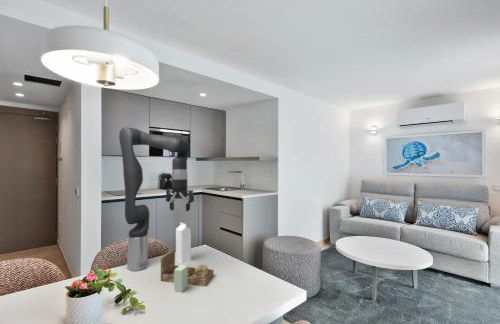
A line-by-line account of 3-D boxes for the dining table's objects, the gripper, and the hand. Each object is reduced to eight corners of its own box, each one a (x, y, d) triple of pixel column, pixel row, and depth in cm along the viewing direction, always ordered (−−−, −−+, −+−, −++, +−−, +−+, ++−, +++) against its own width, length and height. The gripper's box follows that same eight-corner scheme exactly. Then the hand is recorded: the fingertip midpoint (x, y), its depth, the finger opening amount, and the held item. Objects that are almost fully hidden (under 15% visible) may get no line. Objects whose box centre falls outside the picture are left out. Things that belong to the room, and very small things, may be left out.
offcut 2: (193, 282, 114) (193, 275, 114) (199, 276, 120) (199, 270, 120) (203, 283, 113) (203, 277, 113) (208, 277, 119) (208, 271, 119)
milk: (181, 265, 136) (181, 225, 135) (175, 262, 140) (175, 223, 140) (191, 262, 140) (190, 223, 140) (185, 259, 144) (184, 221, 144)
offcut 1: (194, 275, 114) (194, 269, 114) (198, 271, 119) (198, 264, 119) (204, 276, 114) (204, 269, 114) (207, 271, 119) (207, 265, 119)
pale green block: (174, 293, 106) (174, 269, 106) (180, 287, 111) (180, 265, 111) (181, 294, 105) (181, 270, 105) (187, 288, 110) (187, 265, 110)
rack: (160, 283, 116) (160, 257, 116) (173, 273, 126) (173, 249, 126) (204, 289, 110) (204, 261, 110) (213, 278, 121) (213, 253, 121)
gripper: (162, 178, 123) (163, 211, 123) (189, 179, 119) (189, 212, 119) (171, 177, 130) (171, 208, 130) (196, 178, 127) (196, 209, 127)
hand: (179, 210), depth 125 cm, fingers open, 8 cm apart
